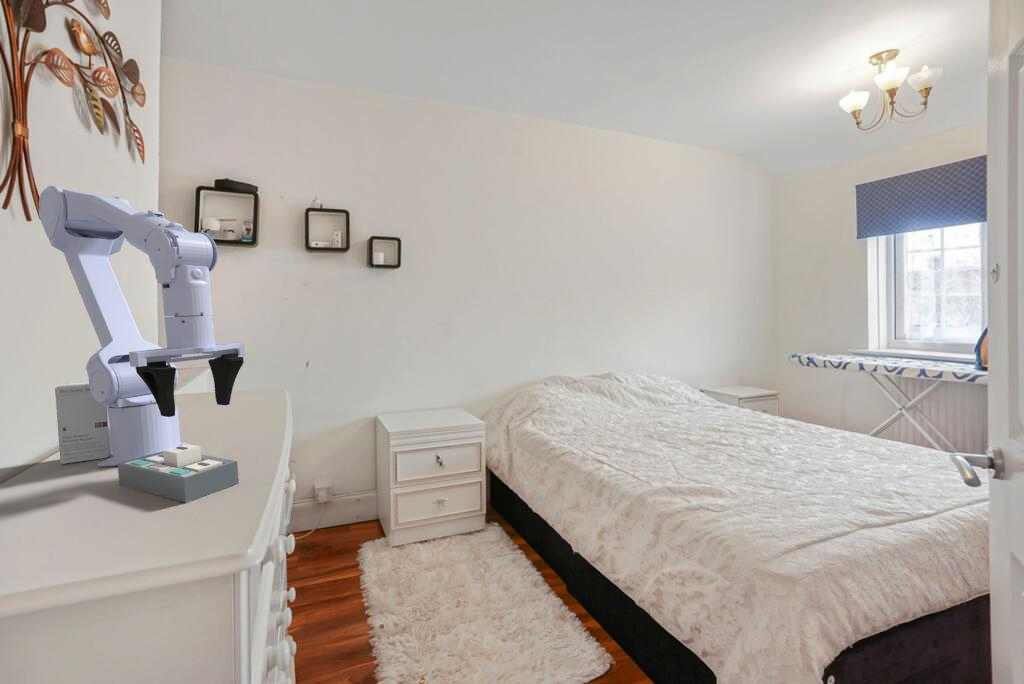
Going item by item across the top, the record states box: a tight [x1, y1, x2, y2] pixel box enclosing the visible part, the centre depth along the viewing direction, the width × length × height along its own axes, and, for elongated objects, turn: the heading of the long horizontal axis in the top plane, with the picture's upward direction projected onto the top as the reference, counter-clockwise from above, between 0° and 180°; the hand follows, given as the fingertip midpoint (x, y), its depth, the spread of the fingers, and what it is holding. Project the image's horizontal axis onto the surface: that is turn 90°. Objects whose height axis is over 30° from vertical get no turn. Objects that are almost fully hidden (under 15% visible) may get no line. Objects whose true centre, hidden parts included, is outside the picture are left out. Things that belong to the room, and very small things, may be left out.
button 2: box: [185, 459, 223, 472], centre depth 60 cm, size 3×3×2 cm
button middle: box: [163, 443, 202, 468], centre depth 62 cm, size 3×3×2 cm
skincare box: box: [54, 381, 112, 465], centre depth 74 cm, size 6×4×12 cm
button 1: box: [145, 454, 164, 463], centre depth 64 cm, size 3×3×2 cm
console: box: [117, 451, 240, 504], centre depth 62 cm, size 15×7×3 cm, turn 64°
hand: (197, 410), depth 67 cm, fingers open, 7 cm apart
